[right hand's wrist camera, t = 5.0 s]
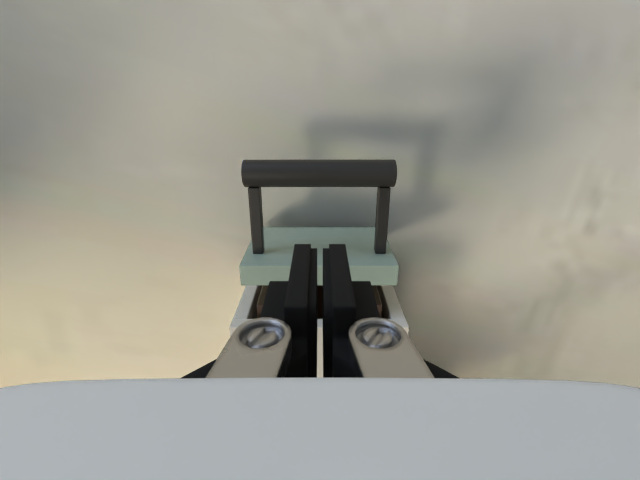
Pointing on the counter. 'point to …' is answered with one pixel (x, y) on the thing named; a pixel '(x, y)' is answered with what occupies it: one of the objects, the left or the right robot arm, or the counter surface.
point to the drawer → (278, 242)
